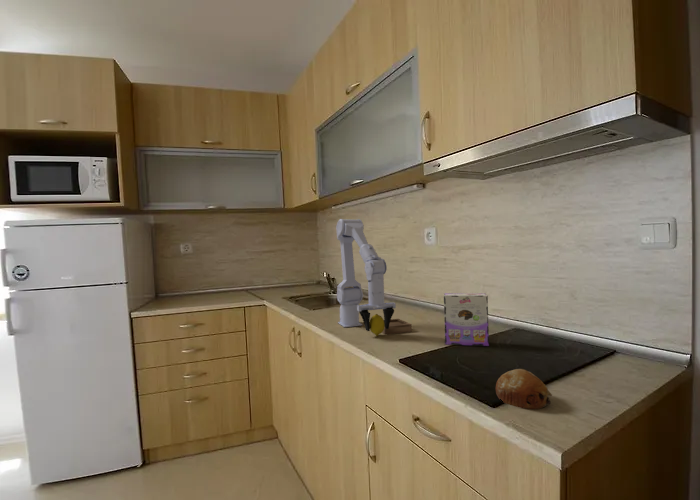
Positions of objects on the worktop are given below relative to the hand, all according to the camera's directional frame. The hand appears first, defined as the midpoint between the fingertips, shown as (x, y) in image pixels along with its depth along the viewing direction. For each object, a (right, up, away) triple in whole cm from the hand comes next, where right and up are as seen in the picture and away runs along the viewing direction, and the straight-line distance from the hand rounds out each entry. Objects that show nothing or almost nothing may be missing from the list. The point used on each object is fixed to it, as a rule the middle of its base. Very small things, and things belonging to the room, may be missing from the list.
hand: (377, 329), depth 131 cm
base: (+6, -2, +9) cm, 11 cm away
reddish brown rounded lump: (+27, -3, -55) cm, 62 cm away
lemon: (0, -3, 0) cm, 3 cm away
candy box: (+29, -2, -12) cm, 31 cm away
